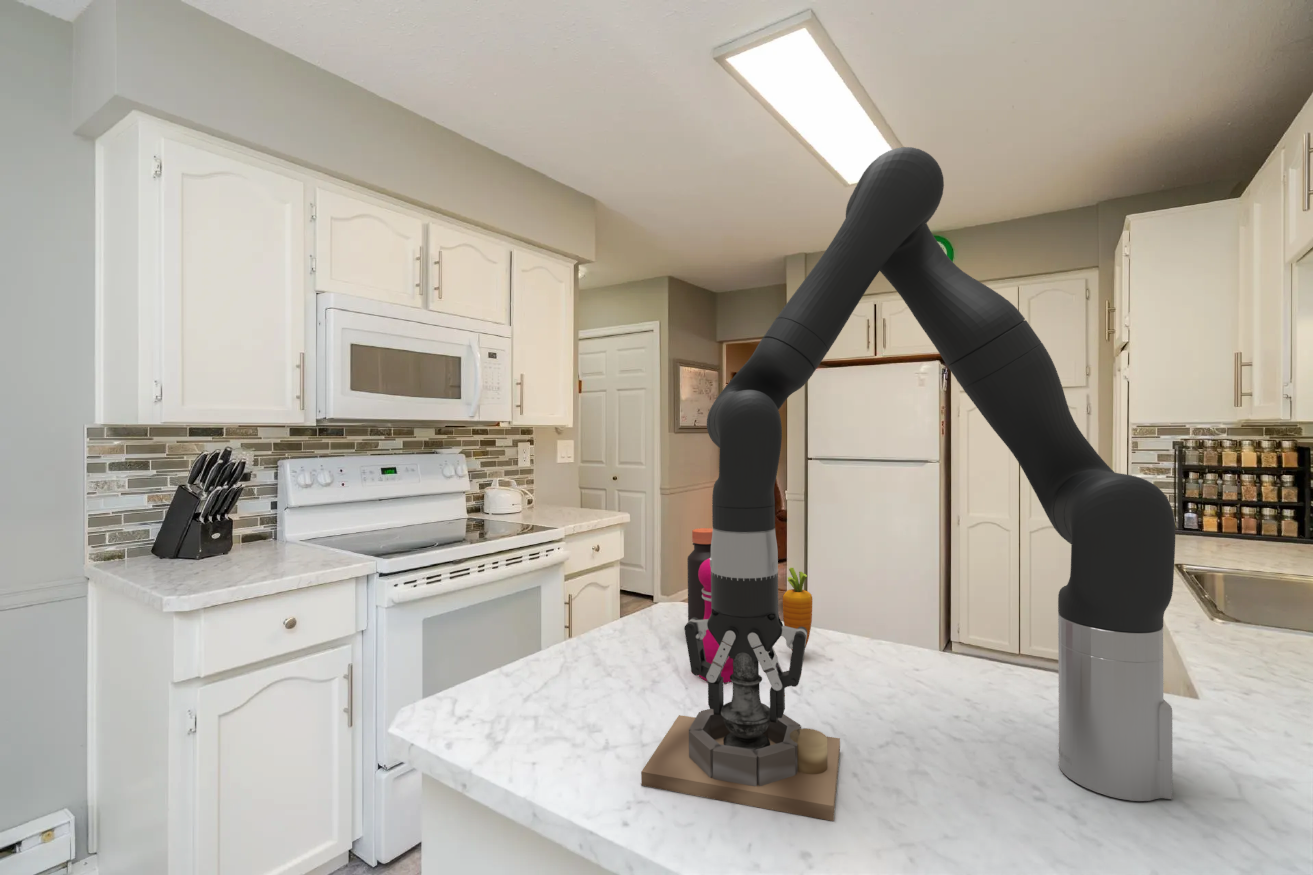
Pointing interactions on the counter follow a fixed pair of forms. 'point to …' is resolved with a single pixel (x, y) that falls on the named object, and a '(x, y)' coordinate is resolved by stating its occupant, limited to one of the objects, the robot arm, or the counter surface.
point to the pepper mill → (708, 640)
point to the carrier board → (748, 766)
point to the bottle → (695, 559)
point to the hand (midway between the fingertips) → (746, 715)
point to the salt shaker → (746, 707)
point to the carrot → (797, 604)
